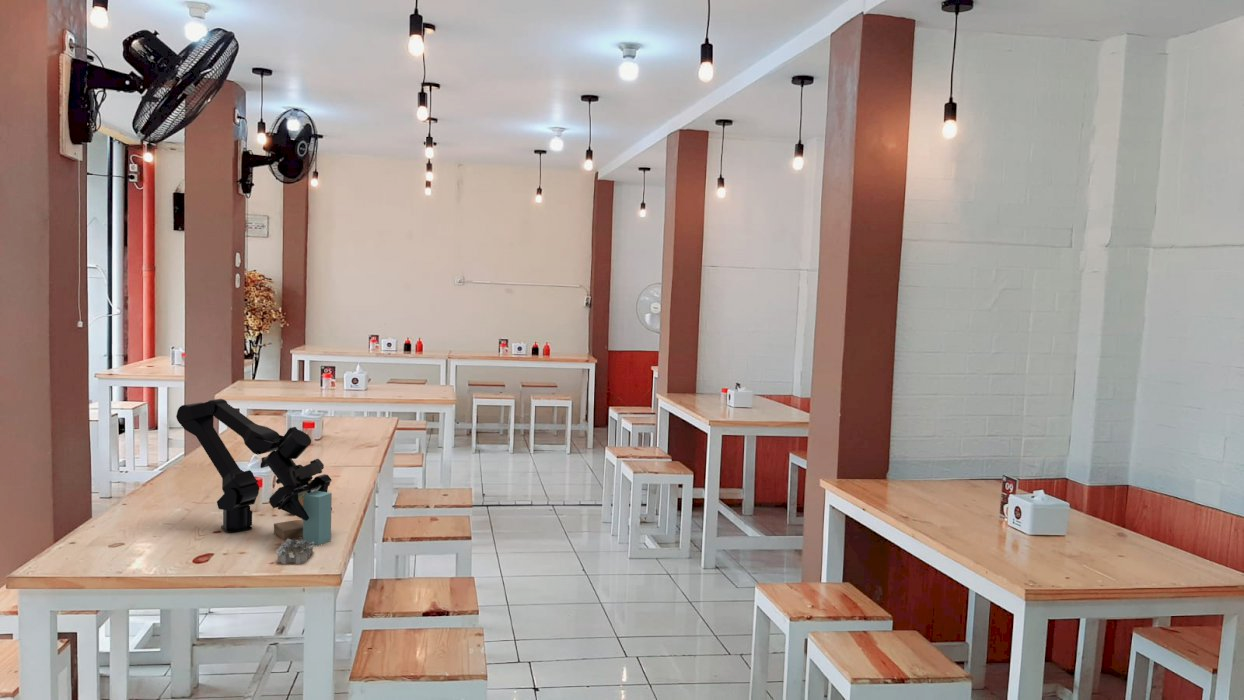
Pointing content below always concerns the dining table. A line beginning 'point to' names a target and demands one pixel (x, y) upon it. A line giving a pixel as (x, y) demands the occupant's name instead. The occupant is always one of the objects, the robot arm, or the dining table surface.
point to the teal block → (317, 517)
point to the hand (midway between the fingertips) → (319, 515)
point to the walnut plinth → (289, 529)
